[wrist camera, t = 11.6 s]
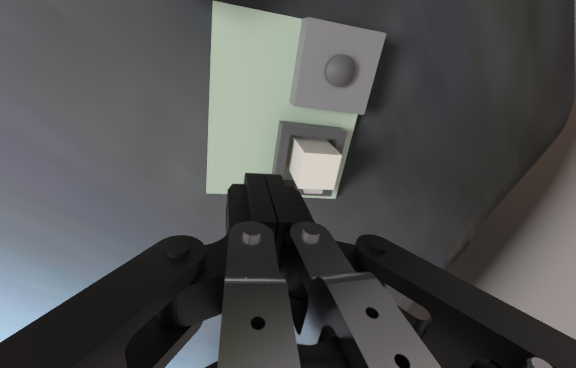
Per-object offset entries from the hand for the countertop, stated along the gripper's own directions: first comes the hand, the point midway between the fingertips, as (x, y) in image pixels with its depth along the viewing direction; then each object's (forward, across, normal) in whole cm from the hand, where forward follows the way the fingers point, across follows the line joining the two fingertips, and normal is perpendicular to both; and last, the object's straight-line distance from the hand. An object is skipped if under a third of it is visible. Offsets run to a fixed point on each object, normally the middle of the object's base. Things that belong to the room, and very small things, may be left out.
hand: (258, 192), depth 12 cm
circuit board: (+21, -6, +2) cm, 22 cm away
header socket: (+20, -9, +6) cm, 23 cm away
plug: (+20, -9, +6) cm, 23 cm away
